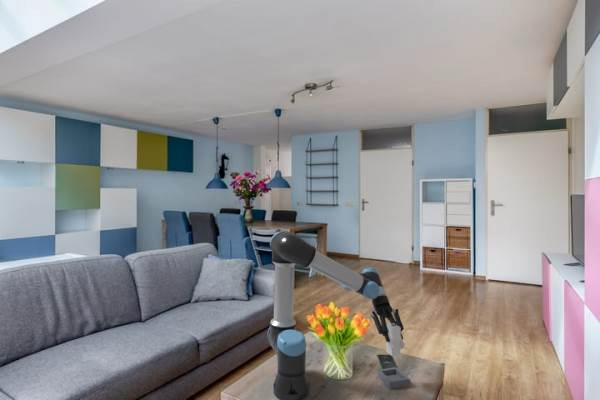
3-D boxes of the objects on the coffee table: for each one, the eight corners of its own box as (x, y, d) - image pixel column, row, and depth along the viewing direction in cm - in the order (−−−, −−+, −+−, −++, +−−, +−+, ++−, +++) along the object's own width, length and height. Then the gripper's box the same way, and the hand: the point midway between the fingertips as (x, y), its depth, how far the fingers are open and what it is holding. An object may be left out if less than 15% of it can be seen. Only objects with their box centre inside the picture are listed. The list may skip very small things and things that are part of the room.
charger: (392, 356, 152) (392, 327, 152) (386, 351, 157) (386, 322, 157) (400, 354, 153) (400, 326, 153) (394, 349, 158) (394, 321, 158)
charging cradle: (389, 389, 149) (389, 382, 149) (377, 376, 159) (377, 370, 159) (409, 385, 151) (409, 378, 151) (396, 373, 161) (396, 367, 161)
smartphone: (381, 368, 165) (376, 354, 180) (381, 371, 165) (376, 356, 180) (398, 369, 164) (391, 354, 179) (398, 371, 164) (391, 356, 179)
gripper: (392, 300, 172) (411, 349, 156) (360, 303, 167) (377, 354, 151) (398, 293, 167) (419, 342, 151) (365, 296, 162) (383, 347, 146)
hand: (398, 348), depth 151 cm, fingers closed on charger, 4 cm apart
